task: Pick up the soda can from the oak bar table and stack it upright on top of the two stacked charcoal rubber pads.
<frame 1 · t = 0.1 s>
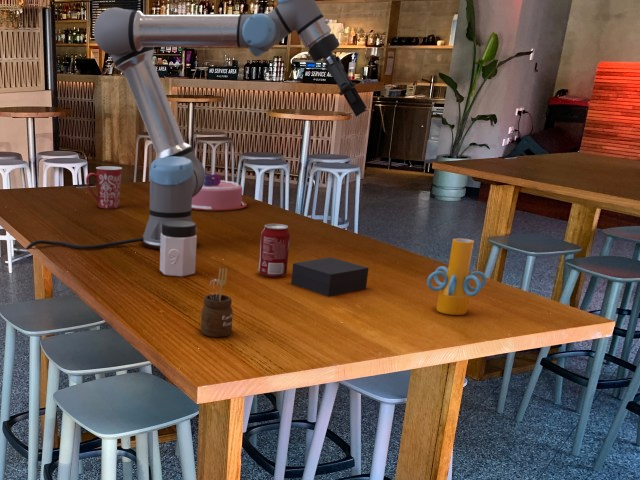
hand: (361, 112, 208), 36 cm above the table, tool tilted 35°, fingers open, 13 cm apart
jar: (177, 273, 194), on the table
cylinder: (451, 312, 166), on the table
mug: (104, 207, 278), on the table
utensil holder: (216, 333, 152), on the table
pad bottom: (328, 286, 183), on the table, touching pad top
soda can: (272, 276, 192), on the table
pad top: (329, 276, 182), point 2 cm above the table, touching pad bottom
cake: (211, 205, 284), on the table
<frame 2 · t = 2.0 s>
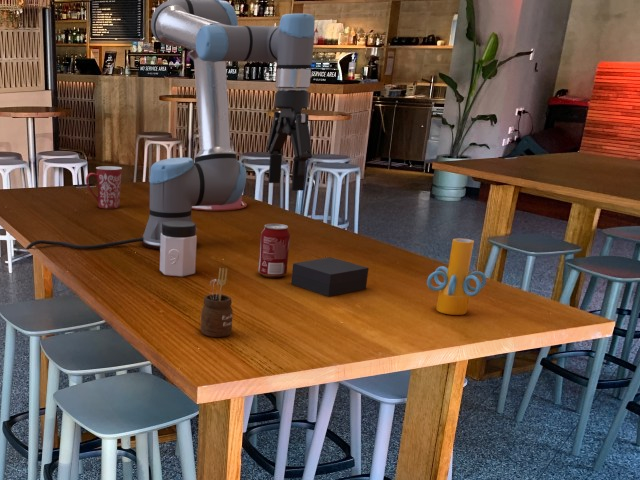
hand: (285, 186, 185), 21 cm above the table, tool pointing down, fingers open, 13 cm apart
nothing on the table moved.
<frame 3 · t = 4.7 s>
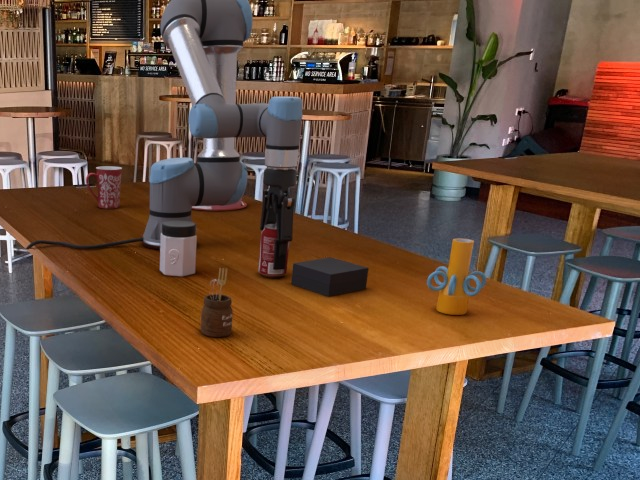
hand: (273, 265, 191), 3 cm above the table, tool pointing down, fingers closed on soda can, 7 cm apart
soda can: (272, 276, 192), on the table, touching gripper
everything else where it was.
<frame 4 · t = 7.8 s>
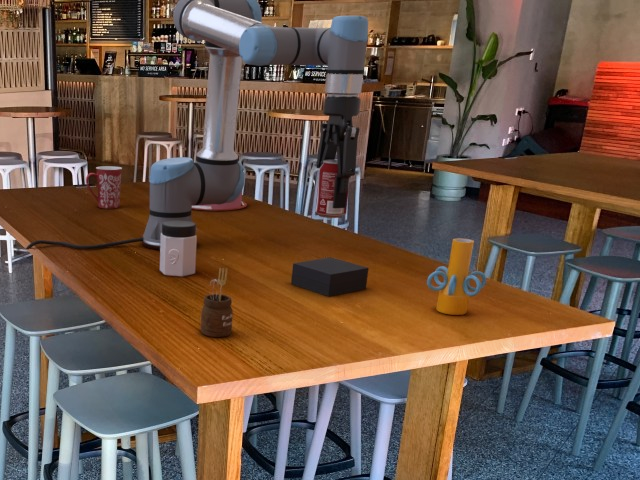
hand: (331, 204, 177), 19 cm above the table, tool pointing down, fingers closed on soda can, 7 cm apart
soda can: (330, 217, 178), point 16 cm above the table, touching gripper
everything else where it was.
when the fingers open (7 cm above the table, at t = 10.8 s): soda can stays where it is, resting on pad top.
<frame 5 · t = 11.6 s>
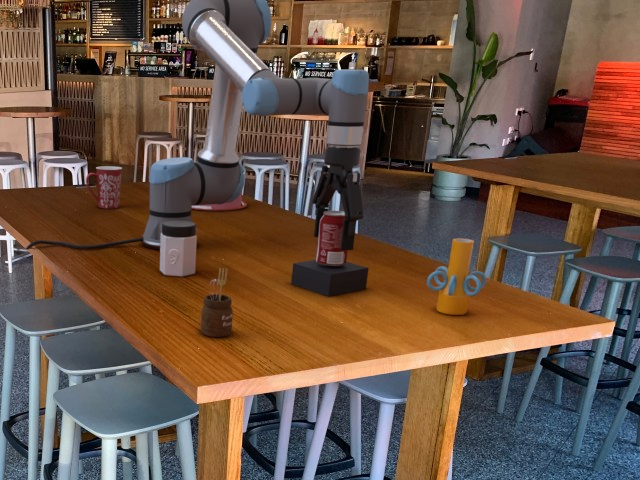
hand: (332, 243, 179), 10 cm above the table, tool pointing down, fingers open, 13 cm apart
soda can: (330, 266, 181), point 5 cm above the table, touching pad top
pad top: (329, 276, 182), point 3 cm above the table, touching pad bottom, soda can
everything else where it was.
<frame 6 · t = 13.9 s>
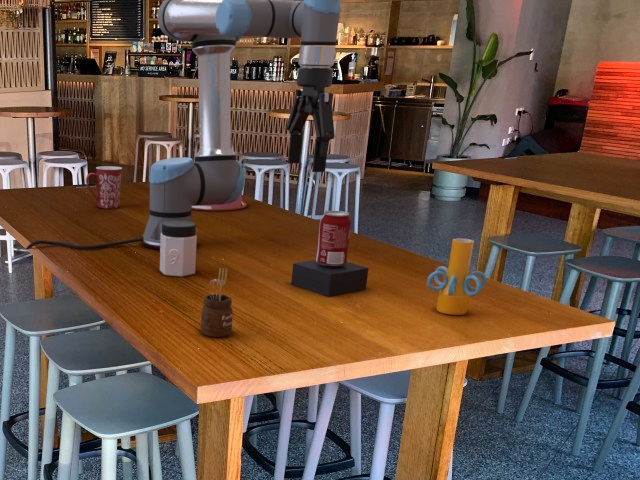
hand: (305, 167, 181), 26 cm above the table, tool pointing down, fingers open, 13 cm apart
nothing on the table moved.
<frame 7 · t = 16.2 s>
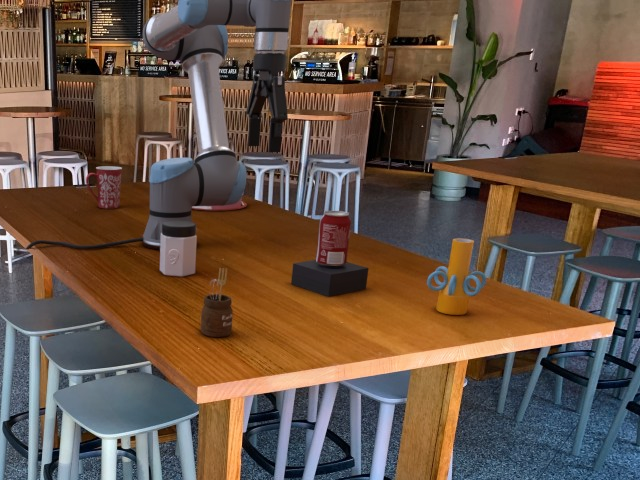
hand: (263, 149, 189), 29 cm above the table, tool pointing down, fingers open, 13 cm apart
nothing on the table moved.
at the end: soda can 0.0 cm off-centre on the pad bottom, point 4.8 cm above the pad bottom's base; soda can tilted 0°; pad top 0.0 cm off-centre on the pad bottom, point 2.5 cm above the pad bottom's base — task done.
